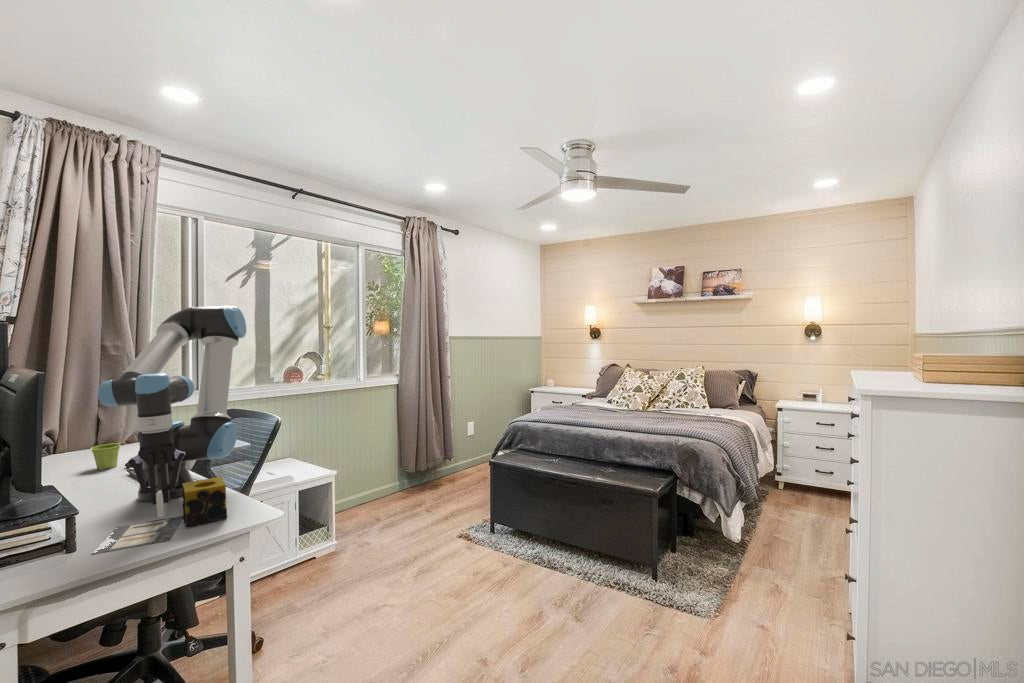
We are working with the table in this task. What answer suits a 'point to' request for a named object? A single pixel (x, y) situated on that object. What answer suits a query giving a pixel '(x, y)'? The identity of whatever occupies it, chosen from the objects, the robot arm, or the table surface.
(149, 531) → the label plate
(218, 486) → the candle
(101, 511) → the table surface
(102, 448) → the plant pot
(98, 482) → the table surface
